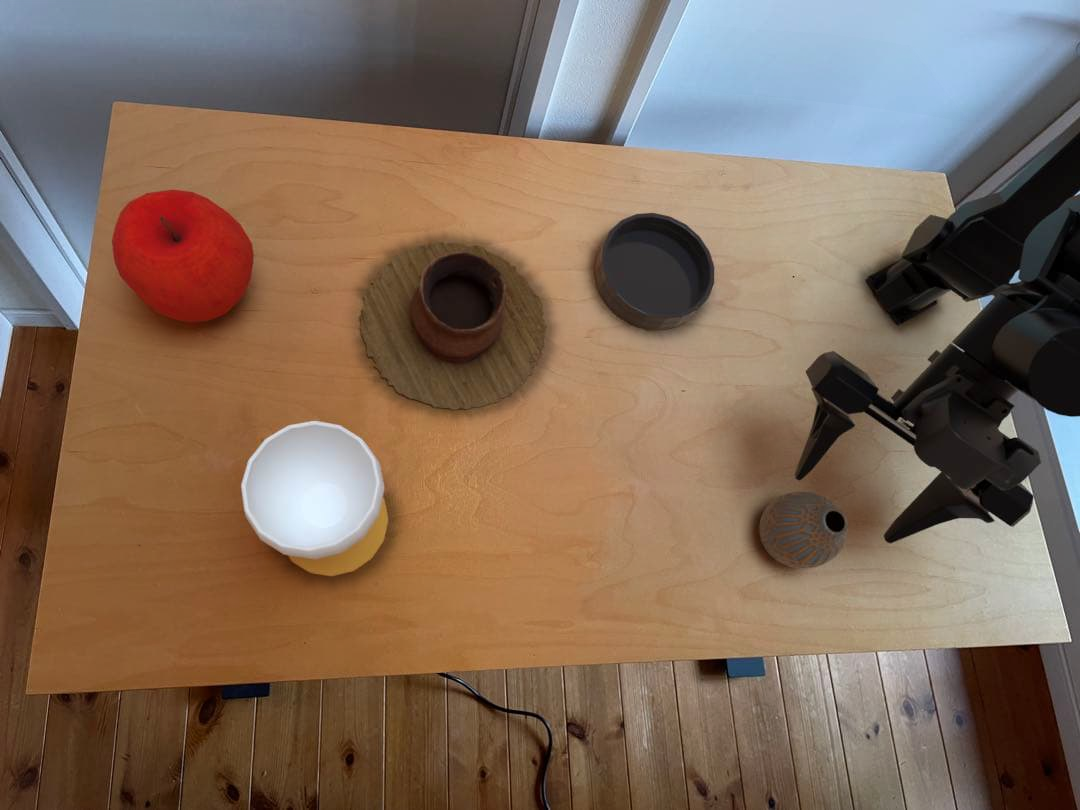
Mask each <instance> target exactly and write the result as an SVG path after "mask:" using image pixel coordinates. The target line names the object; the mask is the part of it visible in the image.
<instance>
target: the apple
mask: <svg viewBox="0 0 1080 810" xmlns="http://www.w3.org/2000/svg"><path fill="white" fill-rule="evenodd" d="M112 234H113V235H112V238H111V247H112V255H113V261H114V264H115V267H116V270H117V272H118V274H119V276H120V278H121V279H122V280H123V281H124V282H125V283H126V284H127V286H128V287H129V288H130V289H131V290H132V291H133V292H134V293H135V295H136V296H137V297H138V298H139V299H140V300H141V301H142V302H143V303H144V304H146V305H147V306H148V307H150V308H151V309H153V310H154V311H156V312H157V313H158V314H161V315H163V316H166V317H169V318H170V319H174V320H177V321H181V322H189V323H199V322H205V321H206V322H207V321H210V320H213V319H216V318H219V317H221V316H223V315H225V314H227V313H228V312H229V311H230V310H231V309H233V308H234V306H235V305H237V303H238V302H239V301H240V300H241V299H242V297H243V295H244V293H245V292H246V289H247V287H248V285H249V284H250V281H251V279H252V273H253V267H254V249H253V247H254V246H253V243H252V241H251V239H250V238H249V236H248V234H247V233H246V231H245V230H244V227H243V226H242V224H241V223H240V222H239V221H238V220H236V219H235V218H234V216H232V214H230V212H228V211H227V210H226V209H224V208H222V207H221V206H219V205H218V204H217V203H216V202H214V201H212V200H211V199H209V198H208V197H206V196H204V195H201V194H199V193H196V192H193V191H188V190H181V189H166V190H159V191H153V192H152V191H151V192H146V193H144V194H142V195H140V196H138V197H136V198H134V199H132V200H130V201H129V202H127V204H125V206H124V207H123V208H122V209H121V210H120V212H119V215H118V217H117V220H116V223H115V225H114V228H113V233H112Z"/></svg>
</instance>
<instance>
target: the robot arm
mask: <svg viewBox="0 0 1080 810" xmlns="http://www.w3.org/2000/svg"><path fill="white" fill-rule="evenodd" d="M1079 192H1080V116H1078V118H1077V119H1076V120H1074V122H1072V124H1070V125H1069V126H1068V127H1067V128H1066V129H1065V130H1064V131H1063V132H1062V133H1061V134H1060V135H1058V137H1057V138H1056V139H1055V140H1054V141H1052V142H1051V143H1050V144H1049V145H1048V146H1047V147H1046V148H1045V149H1044V150H1043V151H1042V152H1041V153H1040V154H1039V155H1038V156H1037V157H1036V158H1034V159H1033V161H1031V162H1030V163H1029V164H1028V165H1027V166H1025V168H1024V169H1023V170H1022V171H1021V172H1020V173H1019V174H1018V175H1016V176H1015V178H1013V180H1011V181H1010V182H1009V183H1008V184H1007V185H1006V186H1005V187H1004V188H1003V189H1002V190H1000V191H998V192H995V193H991V194H989V195H986V196H983V197H979V198H976V199H973V200H969V201H967V202H964V203H963V204H962V205H960V207H958V208H957V209H956V210H955V211H954V212H953V213H951V215H949V216H948V217H947V218H946V217H941V216H937V215H934V214H929V215H928V216H927V217H926V218H925V219H923V221H922V222H921V223H920V224H919V225H917V226H916V228H915V229H914V230H913V231H912V234H911V235H910V238H909V240H908V242H907V244H906V246H905V248H904V250H903V252H902V253H901V256H900V259H898V260H897V261H895V262H893V263H890V264H889V265H886V266H885V267H883V268H881V269H879V270H878V271H876V272H874V273H872V274H870V275H869V276H867V277H866V279H865V281H866V282H867V284H868V286H869V287H870V289H871V290H872V291H873V292H874V293H873V294H875V296H876V297H877V298H878V300H879V301H880V303H881V304H882V306H883V307H884V308H885V310H886V311H887V312H888V314H889V315H890V317H891V318H892V320H893V321H894V322H895V323H896V325H899V326H901V325H903V324H905V323H906V322H909V321H910V320H912V319H913V318H915V317H917V316H919V315H920V314H922V313H924V312H926V311H927V310H929V309H931V308H933V307H934V306H936V305H937V304H938V299H940V298H941V297H943V296H944V295H946V294H948V293H949V292H953V293H955V294H956V295H957V296H959V297H960V298H961V299H962V300H963V301H965V302H966V303H968V302H969V303H970V302H972V301H976V300H980V299H982V298H987V297H989V296H993V298H992V299H991V300H990V301H989V302H988V303H987V304H986V306H984V307H983V308H982V310H981V311H980V312H978V313H977V315H976V316H975V317H974V318H973V319H972V320H971V321H970V322H969V323H968V324H967V325H966V326H965V327H964V328H963V329H962V331H961V332H960V333H959V334H958V335H957V336H956V337H954V339H953V340H952V341H951V343H949V344H948V345H947V346H946V347H945V348H944V349H943V350H942V352H941V351H939V350H938V349H935V350H934V352H933V353H931V355H930V356H929V357H928V358H927V361H928V362H929V363H930V364H929V365H928V366H927V367H926V368H924V371H922V372H921V373H920V374H919V376H918V377H916V379H914V380H913V382H912V383H911V384H910V385H909V386H908V387H907V388H905V390H902V389H900V388H898V389H897V390H896V392H895V393H894V394H892V396H891V397H890V399H891V400H892V402H891V401H890V400H889V399H887V398H886V397H884V396H883V395H882V394H880V393H879V390H880V388H879V387H878V386H877V385H876V383H875V382H874V381H873V379H872V378H871V376H869V375H868V373H866V372H865V371H863V370H862V369H861V368H859V367H858V366H857V365H855V364H853V362H851V361H849V360H848V359H846V358H845V357H843V356H842V355H840V354H839V353H837V352H836V351H834V350H832V351H827V352H824V353H822V354H821V355H818V356H817V358H816V359H815V360H814V361H813V362H812V363H811V364H810V366H809V367H808V368H807V369H806V370H805V371H804V372H805V374H806V377H807V378H808V381H809V383H810V385H811V392H812V394H813V396H814V398H815V400H816V402H817V404H816V409H815V412H814V417H813V421H812V425H811V428H810V432H809V433H808V437H807V440H806V441H805V442H806V443H805V445H804V448H803V451H802V453H801V456H800V458H799V461H798V464H797V466H796V470H795V472H794V478H795V480H796V481H799V482H800V481H802V480H803V479H804V478H805V477H806V476H808V474H810V473H811V472H812V471H813V469H814V468H815V467H816V466H817V465H818V464H819V462H820V461H821V459H823V457H824V456H825V455H826V454H827V452H828V451H829V450H830V449H831V448H832V446H833V445H834V444H835V443H836V442H837V440H838V439H839V438H840V437H841V436H842V435H843V434H845V433H847V432H848V431H851V430H852V429H853V428H855V427H856V424H855V422H854V421H853V419H852V416H853V415H855V414H860V413H865V414H866V415H868V416H869V417H871V418H872V419H873V420H875V421H876V422H878V423H879V424H880V425H882V426H883V427H885V428H887V429H888V430H889V431H891V432H892V433H893V434H895V435H897V436H898V437H900V438H901V439H903V440H904V441H906V442H907V443H908V444H910V445H911V446H913V451H914V453H915V455H916V456H917V457H918V459H919V460H920V461H921V462H923V464H925V465H926V466H928V467H930V468H935V469H937V470H938V471H940V472H939V473H938V474H937V475H936V477H935V478H933V480H932V481H931V482H930V483H928V485H927V486H926V487H925V488H924V489H923V490H922V491H921V492H920V493H919V494H918V495H917V496H916V497H915V498H914V500H913V501H912V502H911V503H910V504H909V505H908V506H907V507H906V508H905V509H904V510H903V511H902V512H901V513H900V514H899V515H898V516H897V517H896V519H894V520H893V522H892V523H891V524H890V526H889V527H888V529H887V530H886V531H885V533H884V534H883V538H884V541H885V542H886V543H888V544H893V543H895V542H898V541H900V540H903V539H905V538H907V537H911V536H913V535H916V534H918V533H920V532H923V531H924V530H927V529H930V528H932V527H935V526H937V525H940V524H943V523H947V522H950V521H954V520H957V519H977V520H981V521H983V522H984V523H986V524H992V523H994V522H996V520H995V519H994V518H993V516H994V517H996V518H997V519H999V520H1000V521H1002V522H1003V523H1004V524H1006V525H1008V526H1009V527H1011V528H1014V527H1015V526H1016V525H1017V524H1018V523H1020V522H1021V521H1022V520H1023V519H1024V518H1025V517H1027V515H1029V514H1030V513H1031V509H1032V507H1033V504H1034V498H1035V497H1034V494H1033V493H1032V492H1030V491H1029V489H1027V487H1026V486H1024V484H1023V482H1024V481H1025V480H1026V479H1027V478H1028V477H1029V476H1030V475H1031V474H1032V473H1033V472H1034V470H1036V469H1037V467H1039V465H1041V464H1042V461H1041V456H1040V452H1039V451H1038V450H1037V449H1035V447H1032V445H1030V444H1028V443H1027V442H1025V441H1024V440H1023V439H1021V438H1020V437H1016V436H1015V437H1011V438H1010V437H1009V436H1007V435H1006V434H1005V433H1003V432H1002V431H1000V429H999V427H1000V426H1001V424H1002V422H1003V421H1004V420H1005V419H1007V417H1008V416H1009V415H1010V414H1011V411H1012V409H1014V408H1015V404H1013V403H1012V402H1010V401H1009V400H1011V398H1012V397H1013V396H1015V394H1016V393H1018V392H1019V391H1020V392H1021V393H1022V394H1023V395H1025V396H1026V397H1028V398H1029V399H1031V400H1032V401H1033V402H1035V403H1036V404H1038V405H1039V406H1040V407H1042V408H1043V409H1045V410H1046V411H1049V412H1051V413H1053V414H1056V415H1058V416H1065V417H1069V418H1070V417H1071V418H1073V417H1074V418H1076V417H1080V193H1079ZM1017 272H1018V280H1020V281H1016V282H1012V283H1010V282H1011V281H1012V279H1013V278H1014V277H1015V275H1016V273H1017ZM900 418H901V419H900ZM992 515H993V516H992Z"/></svg>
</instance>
